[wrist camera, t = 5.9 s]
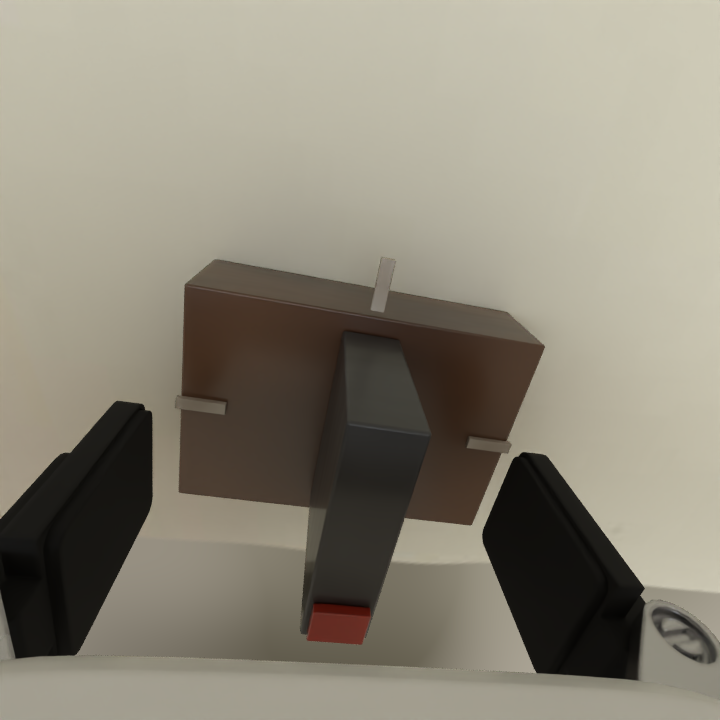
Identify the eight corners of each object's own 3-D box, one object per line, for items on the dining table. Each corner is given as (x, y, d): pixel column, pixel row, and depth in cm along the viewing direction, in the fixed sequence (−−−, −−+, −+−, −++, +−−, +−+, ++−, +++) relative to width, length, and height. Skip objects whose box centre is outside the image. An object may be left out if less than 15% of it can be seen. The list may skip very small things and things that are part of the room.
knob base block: (199, 470, 17) (172, 533, 14) (213, 205, 13) (179, 219, 10) (443, 499, 18) (462, 562, 16) (526, 267, 14) (575, 294, 11)
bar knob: (343, 329, 12) (347, 429, 7) (400, 338, 12) (436, 442, 8) (310, 497, 14) (298, 646, 10) (357, 503, 14) (366, 651, 10)
